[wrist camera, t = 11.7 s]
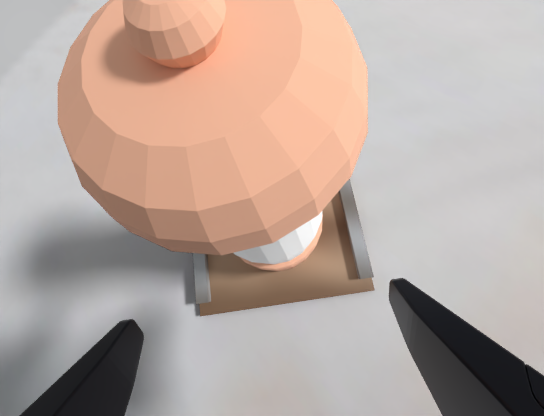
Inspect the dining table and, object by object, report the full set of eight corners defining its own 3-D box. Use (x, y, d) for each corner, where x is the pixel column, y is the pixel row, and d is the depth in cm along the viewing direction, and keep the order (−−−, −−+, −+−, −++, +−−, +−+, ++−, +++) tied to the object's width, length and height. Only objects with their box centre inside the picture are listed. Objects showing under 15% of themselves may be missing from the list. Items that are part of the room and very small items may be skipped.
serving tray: (372, 289, 21) (377, 290, 19) (202, 315, 21) (197, 317, 20) (337, 144, 24) (339, 138, 23) (192, 171, 25) (186, 166, 24)
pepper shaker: (271, 290, 21) (51, 409, 2) (218, 223, 23) (-135, -2, 4) (337, 231, 21) (576, -35, 3) (281, 171, 23) (213, -222, 5)
